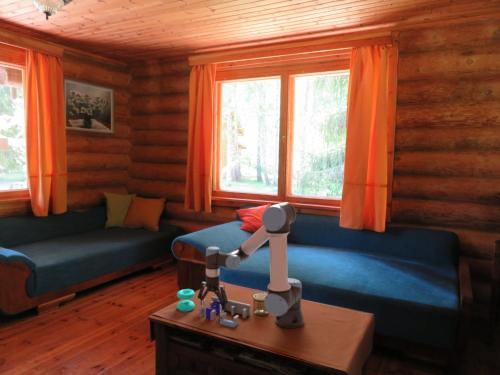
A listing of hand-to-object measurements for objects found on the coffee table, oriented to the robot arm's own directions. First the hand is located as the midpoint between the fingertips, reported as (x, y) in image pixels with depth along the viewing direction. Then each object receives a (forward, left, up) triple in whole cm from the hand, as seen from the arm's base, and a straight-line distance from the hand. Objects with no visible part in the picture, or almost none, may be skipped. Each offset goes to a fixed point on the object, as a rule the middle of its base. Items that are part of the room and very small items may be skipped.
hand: (212, 313), depth 203 cm
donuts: (+17, +2, -1) cm, 17 cm away
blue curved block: (-1, 0, -1) cm, 1 cm away
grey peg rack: (-7, 0, 0) cm, 7 cm away
